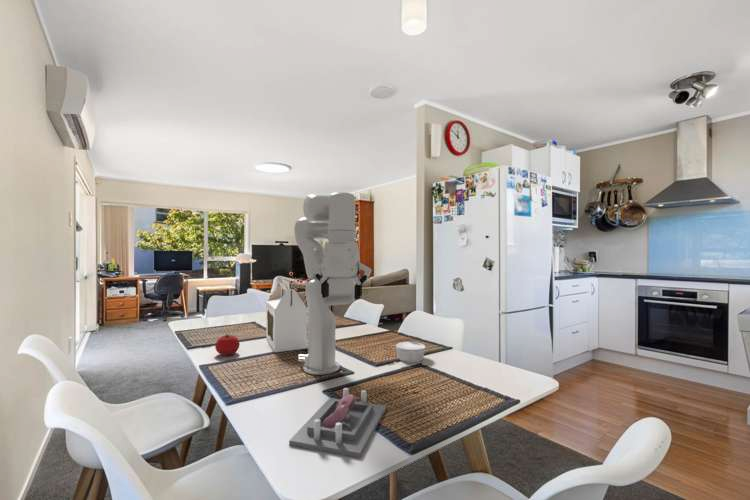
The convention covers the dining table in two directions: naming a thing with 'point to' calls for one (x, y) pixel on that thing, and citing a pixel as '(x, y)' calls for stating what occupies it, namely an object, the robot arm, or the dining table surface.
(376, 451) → the dining table surface
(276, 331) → the gable box
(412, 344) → the ramekin
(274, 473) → the dining table surface
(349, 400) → the pink rounded piece
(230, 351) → the tomato
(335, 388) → the dining table surface
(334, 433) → the tray
